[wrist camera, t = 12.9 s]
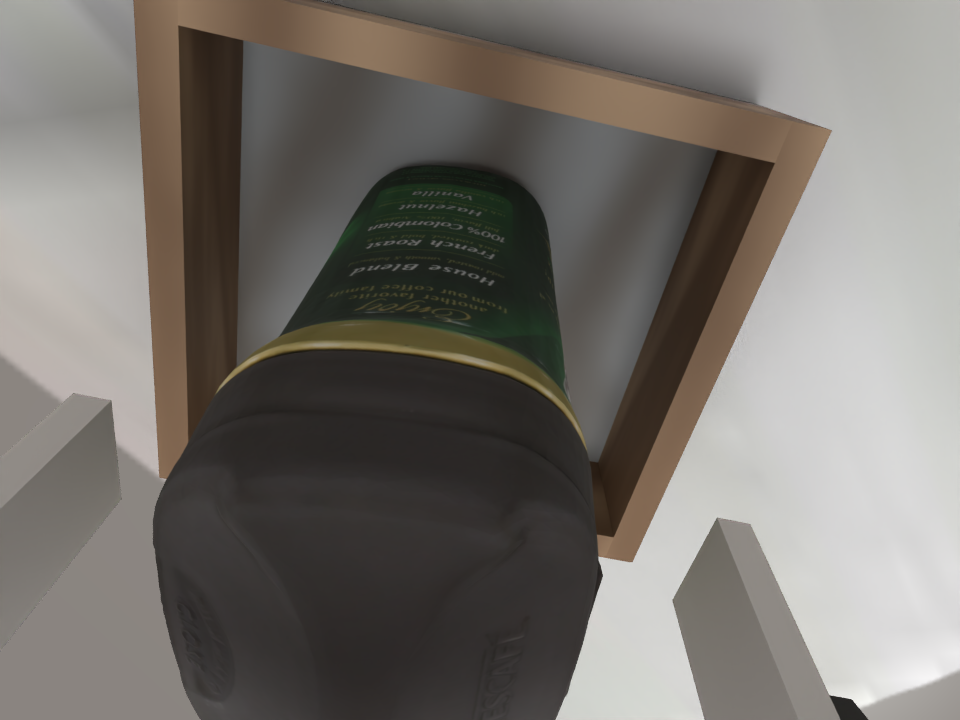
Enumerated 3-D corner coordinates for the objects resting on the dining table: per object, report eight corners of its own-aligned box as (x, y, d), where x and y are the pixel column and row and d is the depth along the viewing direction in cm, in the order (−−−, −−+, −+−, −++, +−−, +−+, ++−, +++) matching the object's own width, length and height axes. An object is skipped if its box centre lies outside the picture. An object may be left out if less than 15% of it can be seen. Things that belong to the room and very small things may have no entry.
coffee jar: (354, 148, 24) (29, 441, 7) (561, 173, 24) (688, 512, 8) (352, 368, 28) (150, 843, 12) (524, 387, 28) (555, 880, 12)
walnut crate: (758, 104, 23) (832, 130, 18) (611, 472, 32) (632, 562, 27) (220, -23, 22) (131, -35, 17) (218, 398, 31) (159, 477, 25)
